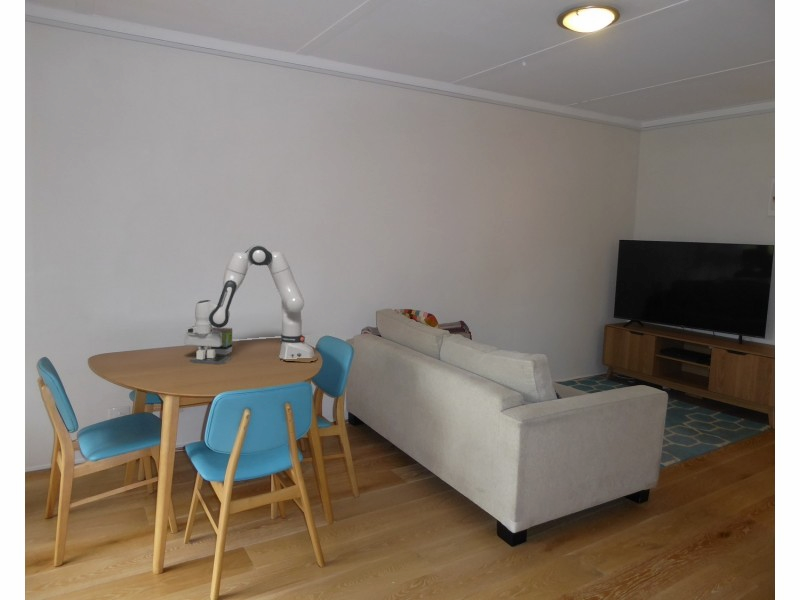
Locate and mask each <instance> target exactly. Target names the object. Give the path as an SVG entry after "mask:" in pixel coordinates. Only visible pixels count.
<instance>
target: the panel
mask: <svg viewBox="0 0 800 600" xmlns="http://www.w3.org/2000/svg"><path fill="white" fill-rule="evenodd" d="M228 360H229V361H230V360H232V356H231V355H218V354H215V357H214V358H207V356H205V359H203V360H201V359H197V355H196V356H195V357H192V358H191V359H189V363H190V362H193V364H205V363H206V365H207V364H208V365H209V364H211V365H221V364H223V365H224V364H226V363H227V362H229V361H228ZM225 362H226V363H225Z"/></svg>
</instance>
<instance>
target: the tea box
mask: <svg viewBox="0 0 800 600" xmlns="http://www.w3.org/2000/svg"><path fill="white" fill-rule="evenodd" d="M212 330H219V331H221V332H222V345H221V346H220V347H211V349H215V355H221V356H228V355H229V354H231V353H232V352H233V328H232V327H221V328H217V327H214V326H212ZM204 347H205V346H202V347H201V348H202V350H203V348H204ZM230 352H231V353H230Z"/></svg>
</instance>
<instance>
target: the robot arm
mask: <svg viewBox="0 0 800 600" xmlns="http://www.w3.org/2000/svg"><path fill="white" fill-rule="evenodd" d="M252 265H255V266H260V267H261V266H267V268H268V270H269V272H270V275H271V277H272V280H273V282H274V285H275V287H276V289H277V292H278V293H279V295H280V298H281V319H282V320H281V322H282V323H281V325H282V326H281V335H280V352H279V356H278V358H279V357H280V358H283V359H297V358H312V357H313V356H315V350H314V348H313V347H312V346H311V345H310V344H308V343H307V342H306V341H305V340H306V339H305V337H306V336H305V335H303V334H302V329H303V327H302V325H303V322H302V320H303V319H302V312H301V311H302V310H303V309H304V307H305V300H304V298H303V295H302V293H301V291H300V288H299V286H298V284H297V282H296V280H295V277H294V275H293V272H292V269H291V267H290V265H289V262H288V260H287V259H286V257H285V254H284V253H282V252H281V251H278V250H274V251H269V250H268V249H267V248H266V246H263V245H260V244H254V245H253V246H252V245H251V246H250V247H249V248H248V249H247V250H246V251H245V252H244V251H235V252H233V253H232V254H231V256H230V259H229V261H228V263H227V264H226V267H225V271H224V274H223V278H222V279H223V281H222V291H221V294H220V297H219V299H218V302H217V304H216V303H215V302H213V301H212V300H209V299H204V300H199V301H198V302H197V303H196V304H195V310H194V318H195V323H194V326H190V327H187V328H186V329H185V332H186V333H185V334H184V341H183V342H184V345H185V346H191V347H197V349H198V350H202V346H205V348H206V349H205V354H206V351H207V349H208V348H209V347H220V346H221V345H222V332H221V331H219V330H212V327H217V328H225V326H227V325H228V323H229V320H230V319H229V318H230V316H231V315H230V310H229V309H230V306H231V305H232V301H233V298H234V296H235V294H236V292H237V291H238V290H239V288H240V287H241V285H242V284H243V282H244V280H245V278H246V275H247V273H248V269H249V267H250V266H252Z"/></svg>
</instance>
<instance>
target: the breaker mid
mask: <svg viewBox="0 0 800 600" xmlns="http://www.w3.org/2000/svg"><path fill="white" fill-rule="evenodd" d="M215 355H216V354H215V349H208V350H207V358H214V357H215Z"/></svg>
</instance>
